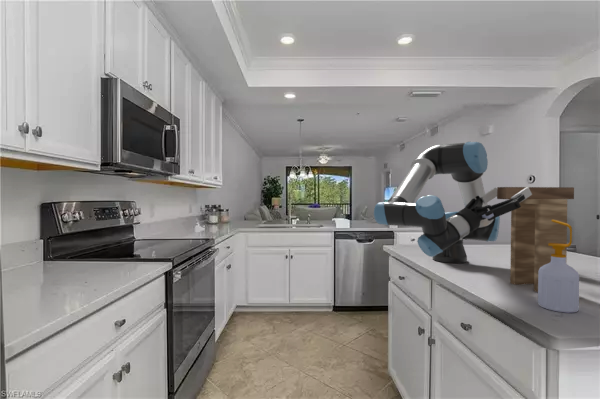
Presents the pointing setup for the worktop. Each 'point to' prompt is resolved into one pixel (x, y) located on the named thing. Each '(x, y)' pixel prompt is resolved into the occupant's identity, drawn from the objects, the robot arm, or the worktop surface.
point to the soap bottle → (558, 281)
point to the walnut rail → (537, 192)
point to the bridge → (535, 237)
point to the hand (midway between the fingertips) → (512, 190)
